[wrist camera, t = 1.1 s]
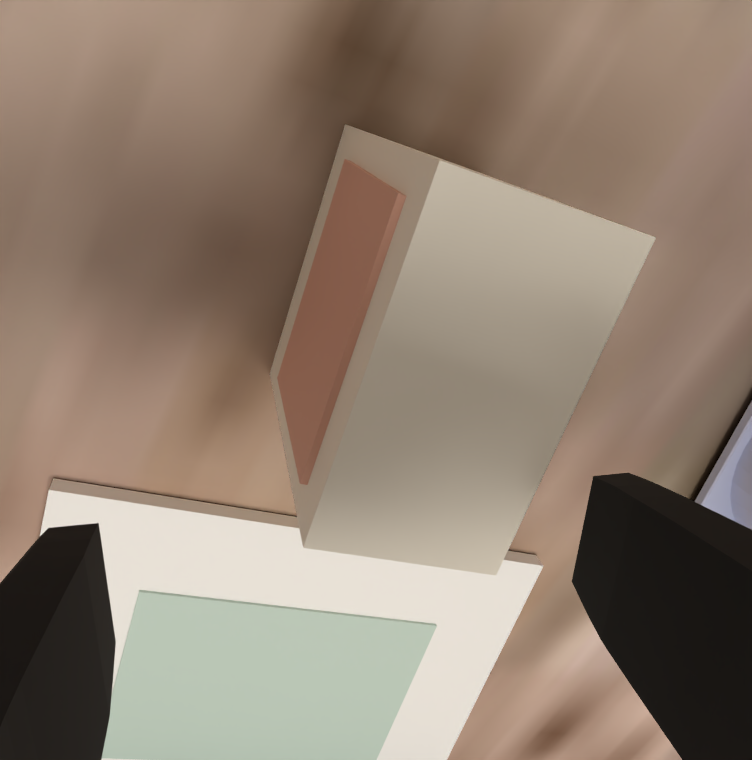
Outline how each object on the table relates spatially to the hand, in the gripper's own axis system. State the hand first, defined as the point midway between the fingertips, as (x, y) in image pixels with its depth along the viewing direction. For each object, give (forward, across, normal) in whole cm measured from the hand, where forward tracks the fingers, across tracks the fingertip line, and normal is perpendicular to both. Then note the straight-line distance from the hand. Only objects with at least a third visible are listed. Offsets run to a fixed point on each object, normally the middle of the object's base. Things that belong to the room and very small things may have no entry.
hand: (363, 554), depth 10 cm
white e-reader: (+10, +1, +12) cm, 16 cm away
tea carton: (+10, -2, -1) cm, 10 cm away
